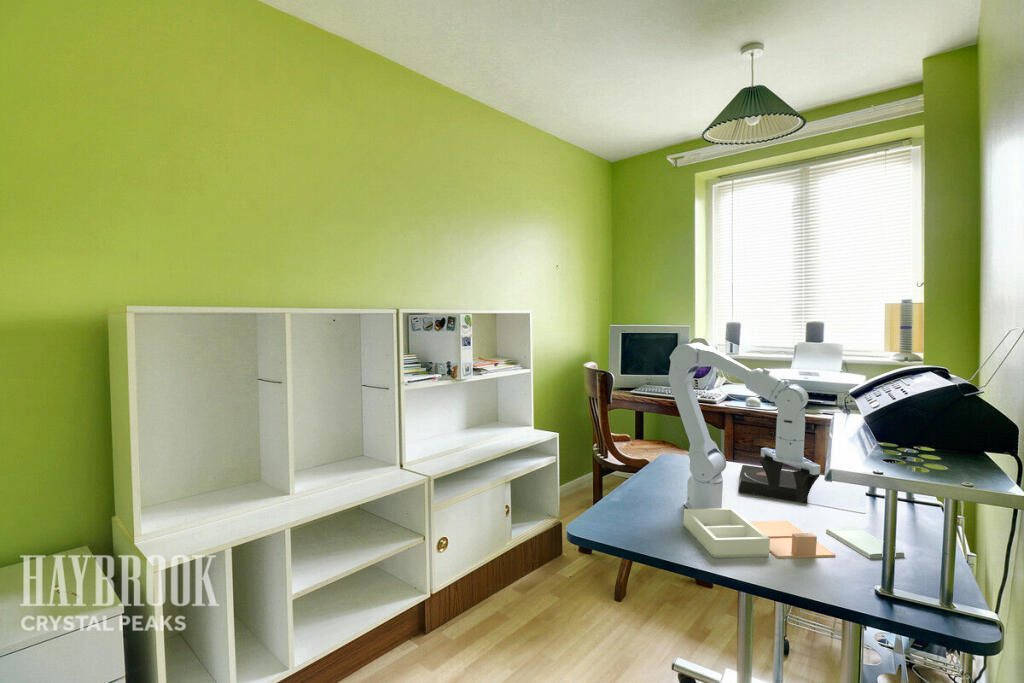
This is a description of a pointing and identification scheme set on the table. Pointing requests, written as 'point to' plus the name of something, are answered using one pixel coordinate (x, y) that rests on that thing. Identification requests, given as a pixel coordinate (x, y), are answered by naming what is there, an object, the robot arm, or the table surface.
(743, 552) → the tub
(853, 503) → the table surface
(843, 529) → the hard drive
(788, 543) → the lid
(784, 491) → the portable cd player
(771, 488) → the robot arm
